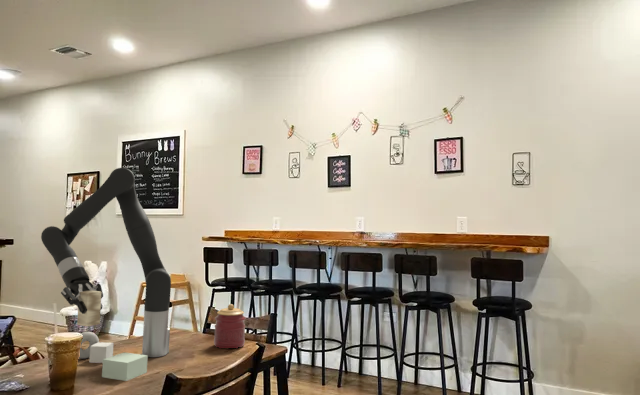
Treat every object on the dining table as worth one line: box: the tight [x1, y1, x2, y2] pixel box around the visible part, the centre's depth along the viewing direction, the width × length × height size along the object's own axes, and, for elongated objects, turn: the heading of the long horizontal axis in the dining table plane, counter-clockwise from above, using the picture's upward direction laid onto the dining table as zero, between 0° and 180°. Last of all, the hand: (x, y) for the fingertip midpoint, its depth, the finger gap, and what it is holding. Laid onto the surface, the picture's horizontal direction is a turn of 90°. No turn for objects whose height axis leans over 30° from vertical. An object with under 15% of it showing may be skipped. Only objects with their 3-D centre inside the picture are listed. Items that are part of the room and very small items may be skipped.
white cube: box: [88, 341, 114, 364], centre depth 178 cm, size 6×6×6 cm
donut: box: [78, 331, 100, 360], centre depth 180 cm, size 10×4×10 cm, turn 138°
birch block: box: [76, 290, 102, 327], centre depth 163 cm, size 5×5×11 cm
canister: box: [213, 303, 247, 349], centre depth 206 cm, size 13×13×18 cm
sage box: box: [101, 351, 149, 382], centre depth 163 cm, size 10×10×6 cm
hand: (92, 310), depth 162 cm, fingers closed on birch block, 5 cm apart
